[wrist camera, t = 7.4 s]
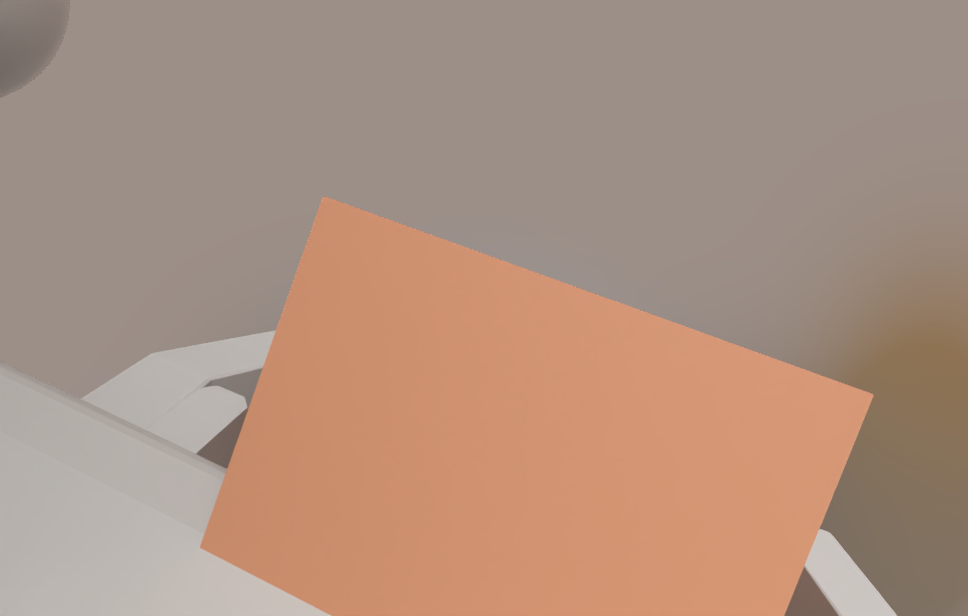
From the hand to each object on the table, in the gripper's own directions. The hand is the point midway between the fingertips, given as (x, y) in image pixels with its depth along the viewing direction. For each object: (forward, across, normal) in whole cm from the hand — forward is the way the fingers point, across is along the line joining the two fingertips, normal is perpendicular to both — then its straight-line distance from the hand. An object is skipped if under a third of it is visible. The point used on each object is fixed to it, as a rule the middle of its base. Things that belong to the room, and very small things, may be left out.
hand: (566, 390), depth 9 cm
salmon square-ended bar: (+5, 0, -6) cm, 8 cm away
